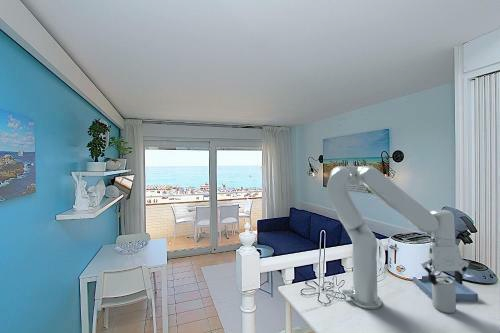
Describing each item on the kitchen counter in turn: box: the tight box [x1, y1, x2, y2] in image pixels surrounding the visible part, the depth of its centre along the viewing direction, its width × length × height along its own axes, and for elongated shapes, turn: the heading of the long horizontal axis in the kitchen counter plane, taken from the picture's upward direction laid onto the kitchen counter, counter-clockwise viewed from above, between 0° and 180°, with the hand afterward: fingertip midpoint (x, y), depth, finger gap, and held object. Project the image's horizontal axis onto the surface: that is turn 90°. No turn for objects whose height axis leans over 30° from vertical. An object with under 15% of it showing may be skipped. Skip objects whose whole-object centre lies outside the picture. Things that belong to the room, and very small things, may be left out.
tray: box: [412, 274, 479, 302], centre depth 110 cm, size 18×16×3 cm
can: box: [431, 275, 457, 314], centre depth 97 cm, size 8×8×12 cm
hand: (445, 282), depth 97 cm, fingers open, 9 cm apart
